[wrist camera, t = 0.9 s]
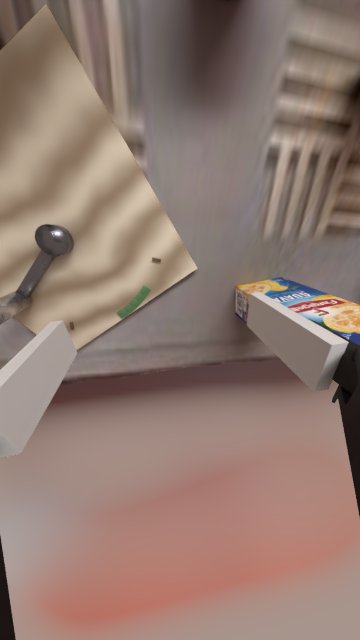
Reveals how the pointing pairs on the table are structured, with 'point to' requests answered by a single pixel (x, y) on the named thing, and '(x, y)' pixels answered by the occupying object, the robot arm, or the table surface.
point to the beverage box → (305, 305)
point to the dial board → (75, 193)
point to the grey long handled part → (37, 268)
